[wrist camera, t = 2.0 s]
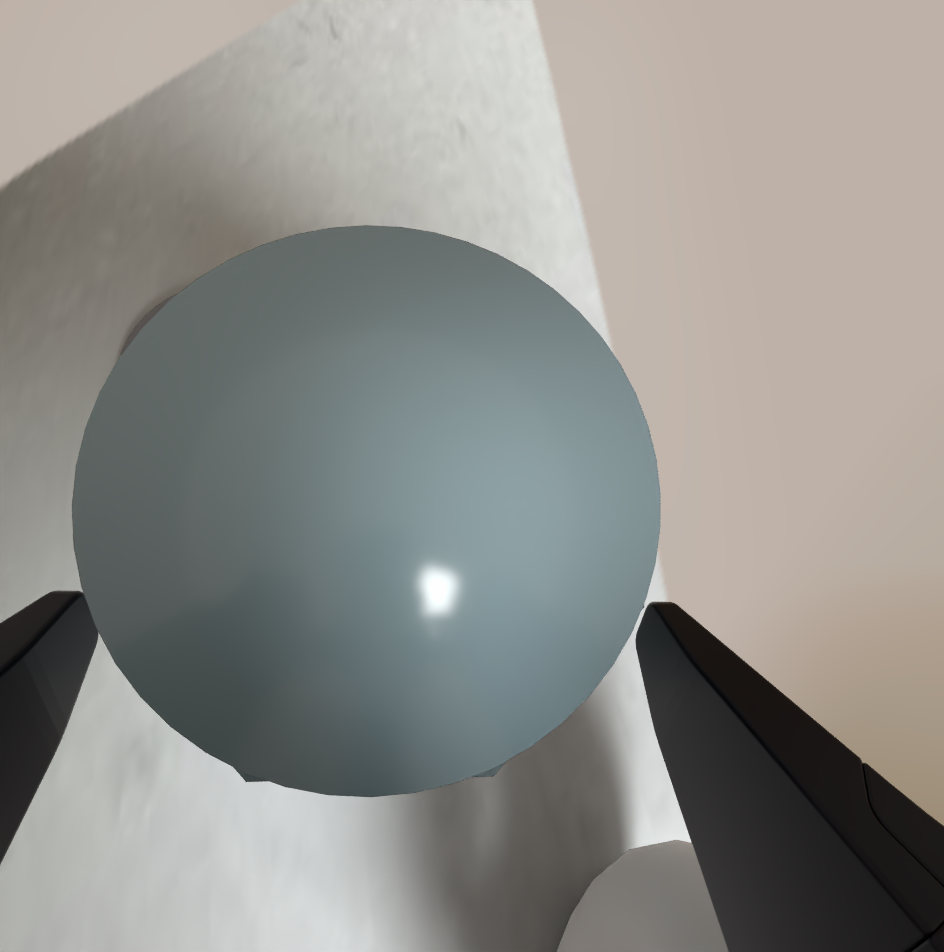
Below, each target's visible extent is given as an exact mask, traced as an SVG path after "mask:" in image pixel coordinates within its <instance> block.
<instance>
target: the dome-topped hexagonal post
mask: <svg viewBox="0 0 944 952" xmlns="http://www.w3.org/2000/svg"><path fill="white" fill-rule="evenodd" d="M72 519H73V542H74V550H75V556H76V561H77V566H78V571H79V576H80V582H81V587H82V590H83V592H84V595H85V598H86V601H87V604H88V606H89V609H90V612H91V615H92V618H93V621H94V623H95V626H96V628H97V630H98V632H99V634H100V635H101V637H102V639H103V641H104V643H105V645H106V647H107V649H108V650H109V652H110V654H111V656H112V658H113V660H114V662H115V663H116V665H117V666H118V667H119V669H120V670H121V671H122V673H123V674H124V675H125V677H126V678H127V679H128V681H129V682H130V684H131V685H132V686H133V688H134V689H135V690H136V692H137V693H138V694H139V696H140V697H141V698H142V699H143V700H144V701H145V702H146V703H147V704H148V705H149V706H150V707H151V708H152V709H153V710H154V711H155V712H156V713H157V714H158V715H159V716H160V717H161V718H162V719H163V720H164V721H165V722H166V723H167V724H168V725H169V726H170V727H172V728H173V729H174V730H176V731H177V732H178V733H180V734H181V735H183V736H184V737H185V738H187V739H188V740H189V741H191V742H192V743H194V744H195V745H196V746H198V747H199V748H200V749H202V750H203V751H204V752H206V753H208V754H210V755H212V756H213V757H215V758H217V759H219V760H221V761H223V762H225V763H227V764H229V765H231V766H233V767H234V768H235V770H236V771H237V772H238V773H239V774H240V775H241V776H242V778H243V779H244V780H245V781H246V782H259V781H270V782H273V783H276V784H279V785H281V786H284V787H288V788H294V789H299V790H304V791H309V792H315V793H320V794H325V795H337V796H359V797H377V796H387V795H398V794H408V793H416V792H420V791H424V790H428V789H432V788H436V787H441V786H445V785H449V784H453V783H456V782H459V781H461V780H464V779H467V778H469V777H487V776H494V775H495V774H496V773H497V771H498V770H499V769H500V768H501V767H502V766H503V765H504V764H505V763H506V761H507V760H509V759H510V758H512V757H514V756H516V755H517V754H519V753H521V752H523V751H525V750H526V749H528V748H530V747H531V746H532V745H534V744H535V743H536V742H538V741H539V740H540V739H542V738H543V737H544V736H546V735H547V734H548V733H550V732H551V731H552V730H554V729H555V728H556V727H558V726H559V725H560V724H561V723H563V722H564V721H565V720H566V719H567V718H568V717H569V716H570V715H571V714H572V713H573V712H574V711H575V710H576V709H577V708H578V707H579V706H580V705H581V704H582V703H583V702H584V701H585V700H586V699H587V698H588V697H589V696H590V694H591V693H592V692H593V691H594V689H595V688H596V687H597V685H598V684H599V683H600V681H601V680H602V679H603V677H604V676H605V675H606V674H607V672H608V671H609V670H610V668H611V667H612V666H613V664H614V663H615V661H616V659H617V657H618V656H619V654H620V652H621V650H622V649H623V647H624V645H625V643H626V642H627V640H628V638H629V637H630V635H631V633H632V631H633V629H634V626H635V624H636V621H637V619H638V616H639V614H640V612H641V610H642V609H643V608H644V602H645V599H646V597H647V593H648V589H649V585H650V582H651V578H652V574H653V570H654V567H655V563H656V555H657V548H658V541H659V533H660V485H659V477H658V469H657V460H656V455H655V451H654V448H653V443H652V439H651V435H650V431H649V427H648V424H647V421H646V419H645V416H644V413H643V411H642V408H641V405H640V403H639V400H638V398H637V395H636V393H635V391H634V389H633V387H632V385H631V384H630V382H629V380H628V378H627V376H626V374H625V372H624V370H623V368H622V366H621V364H620V363H619V361H618V360H617V359H616V357H615V356H614V354H613V353H612V351H611V350H610V348H609V347H608V346H607V344H606V343H605V341H604V340H603V338H602V337H601V336H600V335H599V334H598V332H597V331H596V330H595V329H594V328H593V327H592V326H591V324H590V323H589V322H588V321H587V320H586V319H585V318H584V317H583V315H582V314H581V313H580V312H579V311H578V310H577V309H576V308H575V307H573V306H572V305H571V304H570V303H569V302H568V301H567V300H566V299H564V298H563V297H562V296H561V295H560V294H559V293H558V292H557V291H556V290H554V289H553V288H552V287H550V286H549V285H547V284H546V283H544V282H543V281H542V280H540V279H539V278H537V277H536V276H535V275H533V274H532V273H530V272H529V271H528V270H526V269H524V268H522V267H520V266H518V265H517V264H515V263H513V262H511V261H509V260H507V259H506V258H504V257H502V256H500V255H498V254H496V253H493V252H491V251H489V250H486V249H484V248H481V247H479V246H476V245H474V244H471V243H469V242H466V241H463V240H459V239H456V238H452V237H449V236H445V235H441V234H438V233H434V232H428V231H422V230H416V229H409V228H403V227H388V226H367V225H366V226H351V227H336V228H328V229H322V230H317V231H311V232H306V233H301V234H296V235H293V236H289V237H286V238H283V239H280V240H276V241H273V242H270V243H267V244H263V245H261V246H259V247H256V248H254V249H252V250H250V251H247V252H245V253H243V254H241V255H238V256H236V257H234V258H232V259H230V260H228V261H226V262H225V263H223V264H221V265H219V266H218V267H216V268H214V269H213V270H211V271H209V272H208V273H206V274H204V275H203V276H201V277H199V278H198V279H197V280H195V281H194V282H193V283H191V284H190V285H189V286H188V287H186V288H185V289H184V290H182V291H181V292H180V293H179V294H177V295H176V296H175V297H174V298H172V299H171V300H170V301H169V302H168V303H167V304H166V305H165V306H164V307H163V308H162V309H161V310H160V311H159V312H158V313H157V314H156V315H155V316H154V317H153V318H152V319H151V320H150V321H149V322H148V323H147V324H146V325H145V326H144V327H143V328H142V329H141V330H140V332H139V333H138V334H137V336H136V337H135V338H134V339H133V341H132V342H131V343H130V345H129V346H128V347H127V349H126V350H125V351H124V353H123V354H122V355H121V356H120V358H119V359H118V361H117V363H116V365H115V366H114V368H113V370H112V372H111V373H110V375H109V377H108V379H107V380H106V382H105V384H104V386H103V387H102V389H101V391H100V393H99V396H98V398H97V401H96V403H95V406H94V408H93V411H92V413H91V415H90V418H89V420H88V423H87V425H86V428H85V432H84V436H83V440H82V444H81V448H80V452H79V456H78V460H77V464H76V471H75V481H74V491H73V500H72Z"/></svg>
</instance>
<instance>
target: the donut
mask: <svg viewBox="0 0 944 952" xmlns="http://www.w3.org/2000/svg"><path fill="white" fill-rule="evenodd" d="M557 952H728V949H727V946H726V943H725V940H724V937H723V934H722V931H721V928H720V925H719V922H718V919H717V916H716V913H715V910H714V907H713V904H712V901H711V898H710V895H709V892H708V889H707V886H706V883H705V880H704V877H703V874H702V871H701V868H700V865H699V862H698V860H697V857H696V854H695V851H694V848H693V845H692V843H689V842H684V841H680V840H674V841H668V842H663V843H658V844H653V845H648V846H643V847H638V848H634V849H629V850H628V851H627V852H626V853H624V854H623V855H622V856H621V857H619V858H618V859H617V860H616V861H615V862H613V863H612V864H611V865H610V866H609V867H608V868H606V869H605V870H604V871H603V872H602V873H601V874H600V875H598V876H597V877H596V878H595V879H594V880H593V881H592V882H591V884H590V885H589V887H588V888H587V890H586V892H585V893H584V895H583V897H582V898H581V900H580V901H579V903H578V905H577V906H576V908H575V909H574V911H573V913H572V914H571V916H570V919H569V921H568V924H567V926H566V929H565V931H564V934H563V937H562V939H561V942H560V944H559V947H558V949H557Z"/></svg>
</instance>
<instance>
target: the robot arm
mask: <svg viewBox="0 0 944 952" xmlns="http://www.w3.org/2000/svg"><path fill="white" fill-rule="evenodd" d="M97 640H98V630H97V628H96V626H95V623H94V621H93V618H92V615H91V612H90V609H89V606H88V604H87V601H86V598H85V595H84V593H83V592H80V591H53V592H50V593H48V594H46V595H44V596H43V597H41V598H40V599H38V600H37V601H35V602H33V603H32V604H30V605H29V606H27V607H25V608H24V609H22V610H21V611H19V612H17V613H16V614H14V615H13V616H11V617H10V618H8V619H6V620H5V621H3V622H2V623H0V864H1V862H2V860H3V858H4V856H5V854H6V852H7V850H8V848H9V846H10V844H11V842H12V840H13V838H14V836H15V834H16V832H17V830H18V828H19V826H20V824H21V822H22V820H23V818H24V816H25V814H26V812H27V810H28V808H29V805H30V803H31V801H32V799H33V797H34V795H35V793H36V791H37V789H38V787H39V785H40V783H41V781H42V779H43V777H44V775H45V773H46V771H47V769H48V767H49V765H50V763H51V761H52V759H53V757H54V755H55V752H56V750H57V748H58V746H59V744H60V742H61V739H62V737H63V734H64V732H65V729H66V727H67V724H68V722H69V719H70V716H71V713H72V711H73V708H74V705H75V702H76V700H77V697H78V694H79V691H80V689H81V686H82V683H83V680H84V678H85V675H86V672H87V669H88V667H89V664H90V661H91V658H92V656H93V653H94V650H95V647H96V644H97ZM636 650H637V654H638V659H639V663H640V668H641V672H642V677H643V681H644V686H645V690H646V695H647V699H648V704H649V709H650V713H651V718H652V722H653V726H654V730H655V733H656V737H657V740H658V743H659V746H660V749H661V752H662V755H663V758H664V761H665V764H666V767H667V770H668V773H669V776H670V779H671V782H672V785H673V788H674V791H675V794H676V797H677V800H678V803H679V806H680V809H681V812H682V815H683V818H684V821H685V824H686V827H687V830H688V833H689V836H690V839H691V842H692V845H693V848H694V851H695V854H696V857H697V860H698V862H699V865H700V868H701V871H702V874H703V877H704V880H705V883H706V886H707V889H708V892H709V895H710V898H711V901H712V904H713V907H714V910H715V913H716V916H717V919H718V922H719V925H720V928H721V931H722V934H723V937H724V940H725V943H726V946H727V949H728V952H944V826H943V825H942V824H940V823H939V822H938V821H937V820H935V819H934V818H933V817H931V816H930V815H929V814H927V813H926V812H925V811H924V810H922V809H921V808H920V807H919V806H918V805H916V804H915V803H914V802H912V801H911V800H910V799H909V798H908V797H906V796H905V795H904V794H903V793H902V792H900V791H899V790H898V789H897V788H895V787H894V786H893V785H892V784H890V783H889V782H888V781H887V780H886V779H884V778H883V777H882V776H881V775H880V774H878V773H877V772H876V771H875V770H874V769H873V768H871V767H870V766H869V765H868V764H866V763H862V761H861V759H860V758H859V757H858V756H857V755H856V754H854V753H853V752H852V751H851V750H849V749H848V748H847V747H846V746H845V745H844V744H842V743H841V742H840V741H839V740H838V739H837V738H835V737H834V736H833V735H832V734H831V733H829V732H828V731H827V730H826V729H825V728H823V727H822V726H821V725H820V724H819V723H817V722H816V721H815V720H814V719H813V718H811V717H810V716H809V715H808V714H807V713H805V712H804V711H803V710H802V709H801V708H800V707H798V706H797V705H796V704H795V703H794V702H792V701H791V700H790V699H789V698H788V697H786V696H785V695H784V694H783V693H782V692H780V691H779V690H778V689H777V688H776V687H774V686H773V685H772V684H771V683H770V682H769V681H767V680H766V679H765V678H764V677H763V676H761V675H760V674H759V673H758V672H757V671H755V670H754V669H753V668H752V667H750V666H749V665H748V664H747V663H746V662H745V661H743V660H742V659H741V658H740V657H739V656H738V655H736V654H735V653H734V652H733V651H732V650H730V649H729V648H728V647H727V646H726V645H724V644H723V643H722V642H721V641H720V640H718V639H717V638H716V637H715V636H713V635H712V634H711V633H710V632H709V631H708V630H707V629H705V628H704V627H703V626H702V625H700V624H699V623H698V622H697V621H696V620H695V619H693V618H692V617H691V616H690V615H688V614H687V613H686V612H685V611H684V610H683V609H681V608H680V607H679V606H678V605H676V604H675V603H672V602H651V603H650V604H649V605H648V606H647V608H646V610H645V613H644V615H643V618H642V621H641V623H640V626H639V628H638V631H637V634H636Z"/></svg>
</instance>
